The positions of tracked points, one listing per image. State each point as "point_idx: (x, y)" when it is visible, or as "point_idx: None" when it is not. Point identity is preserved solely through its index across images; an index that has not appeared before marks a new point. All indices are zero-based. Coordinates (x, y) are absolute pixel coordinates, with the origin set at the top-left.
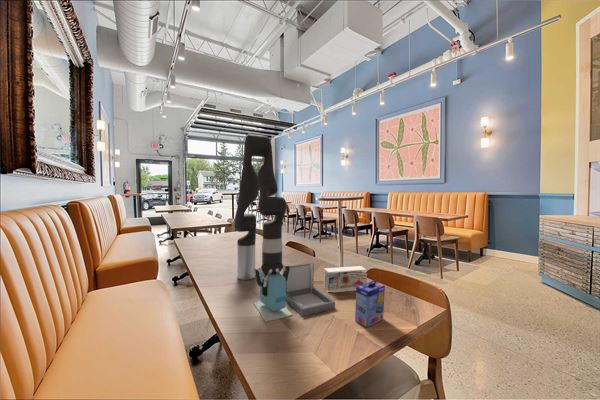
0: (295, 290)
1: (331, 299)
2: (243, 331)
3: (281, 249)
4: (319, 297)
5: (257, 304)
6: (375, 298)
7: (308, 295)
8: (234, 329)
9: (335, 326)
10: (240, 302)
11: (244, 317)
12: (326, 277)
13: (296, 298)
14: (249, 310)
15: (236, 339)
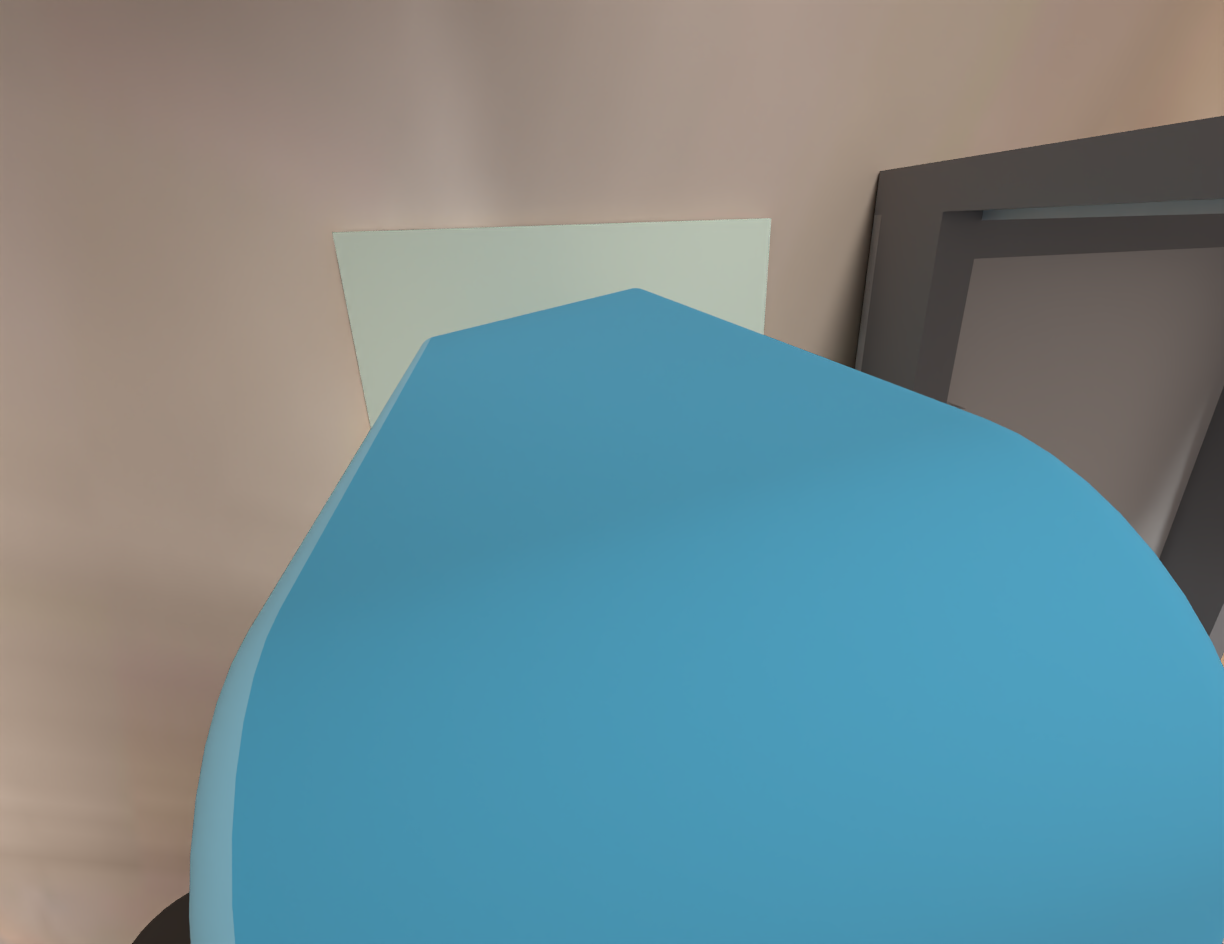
0: (1130, 227)
1: (1222, 654)
2: (178, 848)
3: None
4: (1214, 438)
5: (392, 323)
6: None
7: (1176, 307)
8: (62, 808)
9: None
10: (39, 23)
11: (173, 605)
12: None
13: (998, 335)
14: (249, 438)
15: (112, 936)
